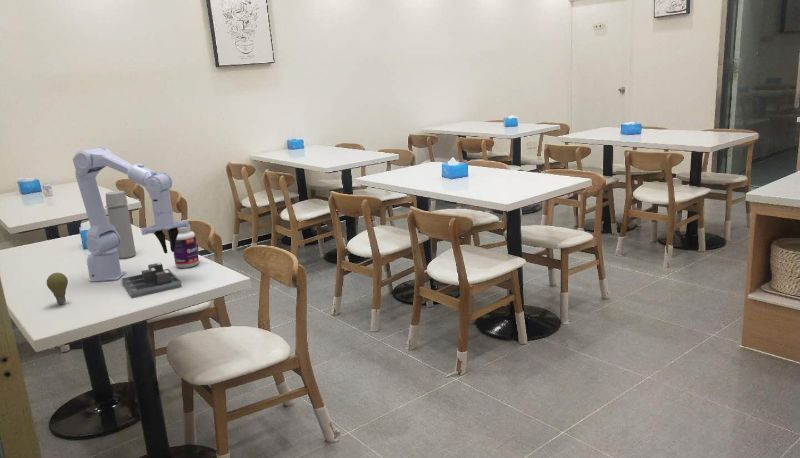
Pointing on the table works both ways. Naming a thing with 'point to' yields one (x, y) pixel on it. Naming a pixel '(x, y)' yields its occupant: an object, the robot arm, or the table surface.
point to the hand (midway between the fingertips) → (169, 252)
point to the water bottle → (121, 222)
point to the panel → (148, 285)
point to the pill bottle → (186, 249)
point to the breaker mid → (149, 275)
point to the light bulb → (58, 286)
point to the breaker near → (163, 277)
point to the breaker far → (156, 266)
